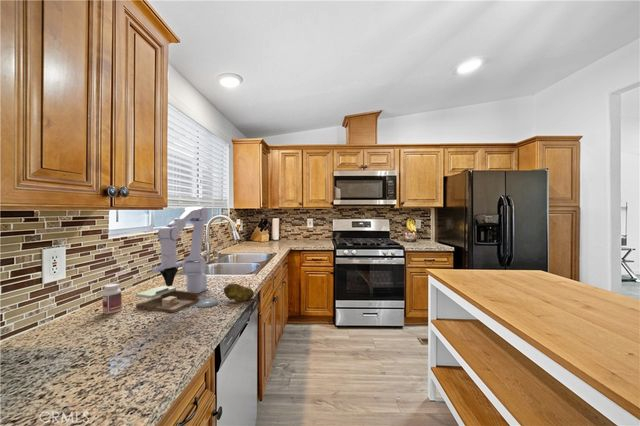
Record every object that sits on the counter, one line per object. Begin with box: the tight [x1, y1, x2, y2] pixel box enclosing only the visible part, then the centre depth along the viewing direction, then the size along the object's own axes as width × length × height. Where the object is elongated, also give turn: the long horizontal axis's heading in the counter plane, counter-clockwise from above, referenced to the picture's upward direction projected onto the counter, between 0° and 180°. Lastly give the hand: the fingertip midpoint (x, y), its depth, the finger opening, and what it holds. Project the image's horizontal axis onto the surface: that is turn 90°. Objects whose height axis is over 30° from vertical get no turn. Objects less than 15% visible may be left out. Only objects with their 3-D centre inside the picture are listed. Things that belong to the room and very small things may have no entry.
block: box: [162, 296, 177, 307], centre depth 113 cm, size 4×4×4 cm
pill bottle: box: [102, 283, 123, 315], centre depth 109 cm, size 6×6×11 cm
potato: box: [223, 282, 255, 302], centre depth 121 cm, size 8×13×8 cm, turn 92°
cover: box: [135, 285, 177, 300], centre depth 118 cm, size 12×9×2 cm
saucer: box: [195, 298, 219, 309], centre depth 117 cm, size 9×9×1 cm
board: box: [135, 289, 200, 314], centre depth 117 cm, size 14×21×4 cm, turn 71°
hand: (169, 285), depth 113 cm, fingers closed
